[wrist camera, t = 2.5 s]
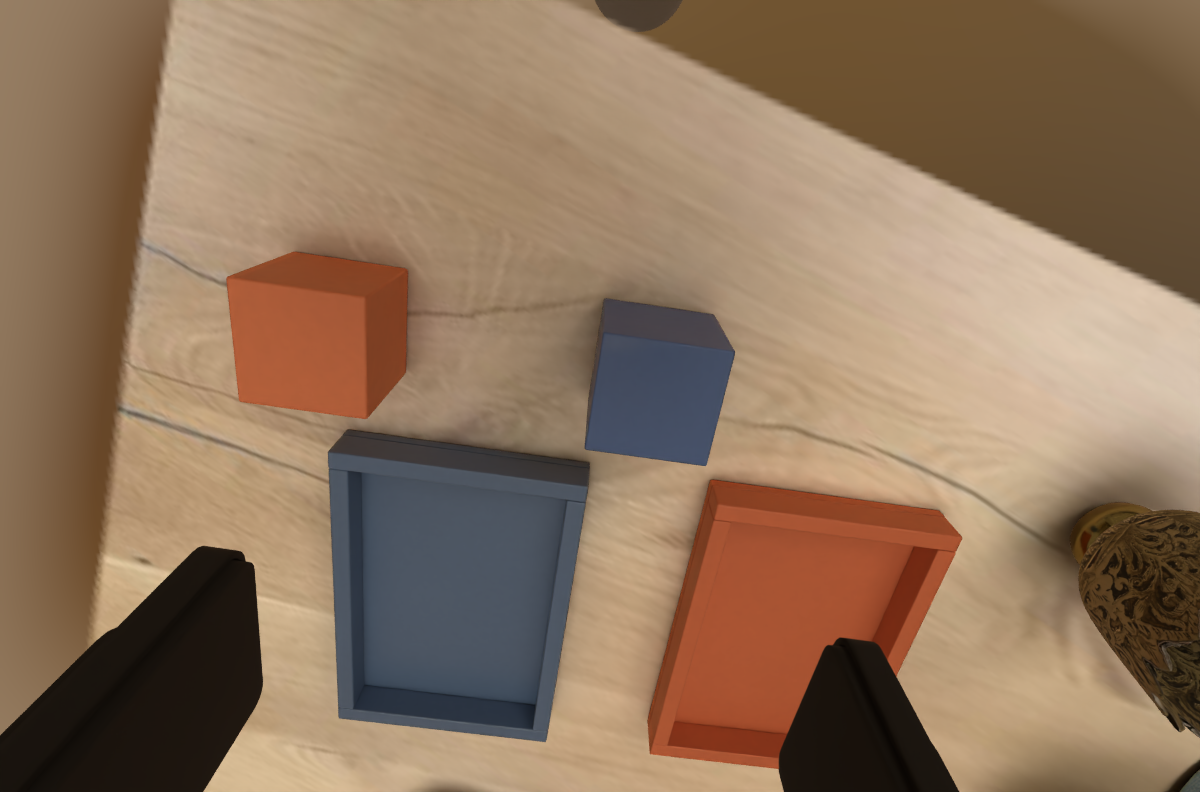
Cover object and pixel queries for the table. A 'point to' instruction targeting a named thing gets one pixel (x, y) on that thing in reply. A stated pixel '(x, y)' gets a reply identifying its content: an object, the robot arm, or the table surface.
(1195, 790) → the hat
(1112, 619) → the brown filigree ornament
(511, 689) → the blue tray
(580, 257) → the table surface
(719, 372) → the blue block
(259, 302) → the terracotta block
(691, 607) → the terracotta tray
